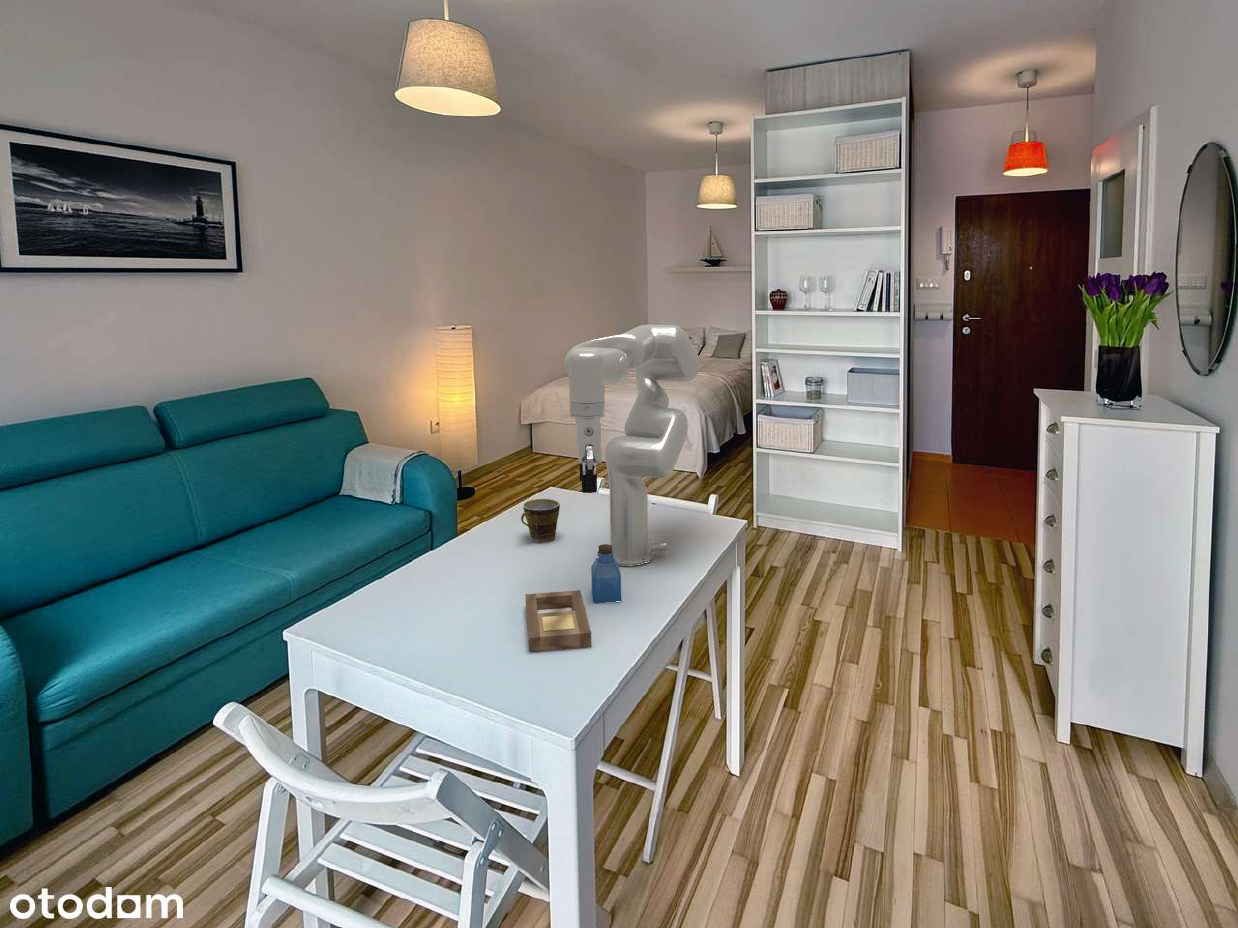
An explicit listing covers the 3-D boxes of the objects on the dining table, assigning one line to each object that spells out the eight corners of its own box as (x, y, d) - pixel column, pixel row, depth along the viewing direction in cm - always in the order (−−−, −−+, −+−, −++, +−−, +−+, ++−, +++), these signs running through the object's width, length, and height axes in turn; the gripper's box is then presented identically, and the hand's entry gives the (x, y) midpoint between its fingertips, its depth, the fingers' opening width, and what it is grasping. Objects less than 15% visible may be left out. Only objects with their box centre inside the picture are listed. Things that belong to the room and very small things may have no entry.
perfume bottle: (591, 591, 167) (590, 542, 164) (618, 590, 168) (618, 541, 164) (593, 603, 161) (592, 552, 158) (621, 602, 162) (620, 551, 158)
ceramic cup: (541, 530, 208) (539, 496, 205) (568, 537, 202) (567, 502, 199) (509, 543, 197) (507, 508, 195) (537, 551, 192) (535, 515, 189)
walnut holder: (580, 602, 161) (580, 589, 161) (591, 646, 142) (591, 631, 142) (525, 606, 160) (525, 593, 159) (529, 652, 141) (528, 637, 140)
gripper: (608, 415, 149) (608, 496, 153) (601, 403, 166) (602, 476, 170) (571, 416, 148) (572, 497, 152) (568, 403, 165) (569, 477, 169)
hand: (588, 486), depth 161 cm, fingers open, 9 cm apart
